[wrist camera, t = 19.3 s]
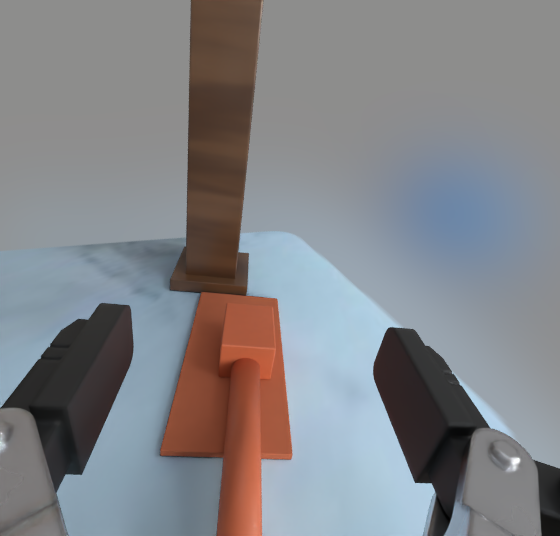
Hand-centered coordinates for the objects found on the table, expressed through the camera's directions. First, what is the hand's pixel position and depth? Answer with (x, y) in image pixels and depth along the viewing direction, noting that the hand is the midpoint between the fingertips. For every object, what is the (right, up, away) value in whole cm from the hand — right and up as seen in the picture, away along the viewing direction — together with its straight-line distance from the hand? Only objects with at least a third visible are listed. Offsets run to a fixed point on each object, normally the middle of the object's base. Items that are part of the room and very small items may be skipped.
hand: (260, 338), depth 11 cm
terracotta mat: (-2, -3, +11) cm, 11 cm away
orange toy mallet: (-1, -6, +5) cm, 8 cm away
